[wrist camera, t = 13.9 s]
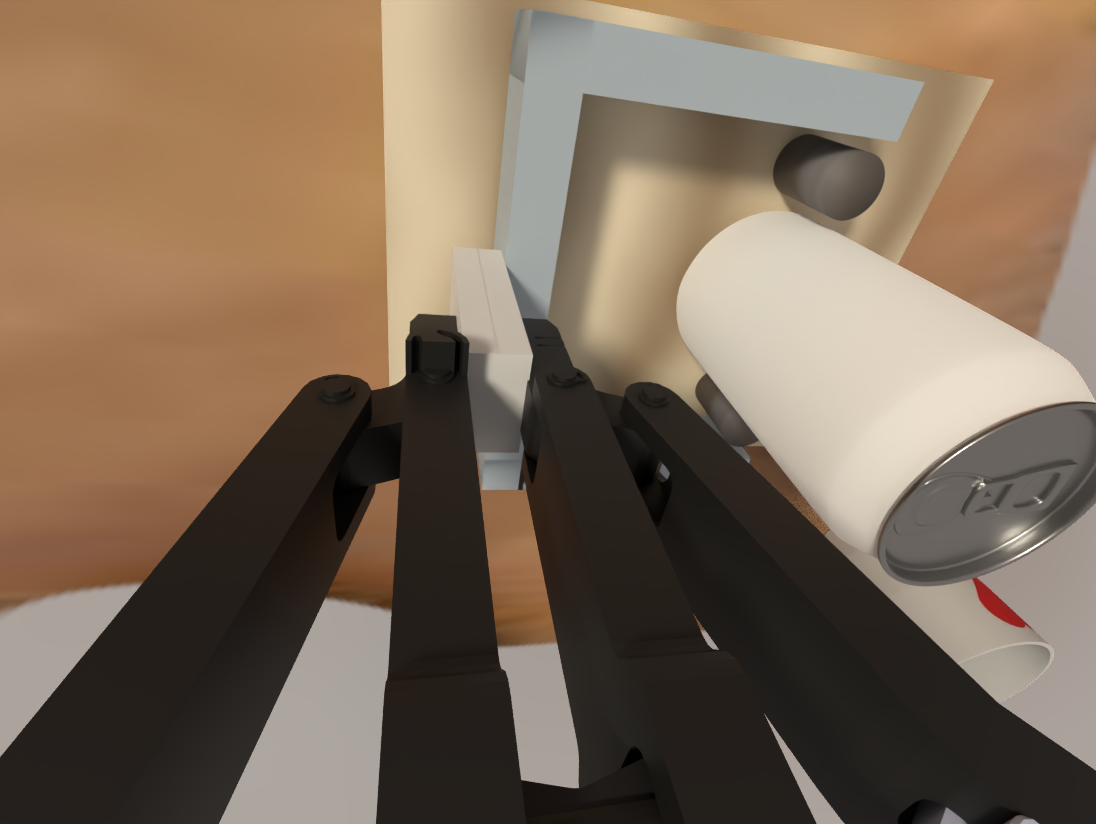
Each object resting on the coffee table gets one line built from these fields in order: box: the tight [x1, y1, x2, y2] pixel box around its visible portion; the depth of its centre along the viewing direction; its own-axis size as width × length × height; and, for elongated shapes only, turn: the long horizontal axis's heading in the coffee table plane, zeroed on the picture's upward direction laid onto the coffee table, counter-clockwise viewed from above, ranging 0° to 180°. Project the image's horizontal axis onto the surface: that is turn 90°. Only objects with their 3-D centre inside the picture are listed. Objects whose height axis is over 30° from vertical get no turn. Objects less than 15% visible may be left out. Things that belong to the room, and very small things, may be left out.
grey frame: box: [477, 9, 925, 490], centre depth 19 cm, size 11×15×3 cm
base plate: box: [381, 0, 994, 447], centre depth 20 cm, size 20×16×4 cm
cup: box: [824, 529, 1054, 703], centre depth 32 cm, size 8×8×10 cm
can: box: [676, 211, 1096, 587], centre depth 17 cm, size 6×6×12 cm
